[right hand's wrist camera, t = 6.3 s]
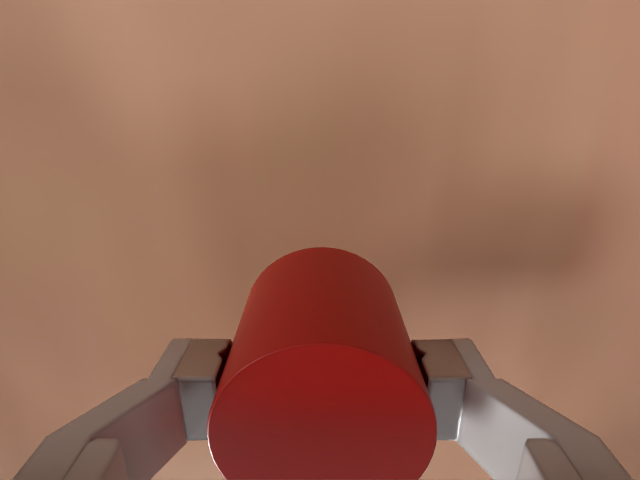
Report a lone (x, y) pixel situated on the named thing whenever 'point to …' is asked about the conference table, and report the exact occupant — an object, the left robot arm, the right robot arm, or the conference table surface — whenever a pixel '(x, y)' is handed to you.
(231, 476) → the canister
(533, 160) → the conference table surface
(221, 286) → the conference table surface
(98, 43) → the conference table surface
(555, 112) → the conference table surface
